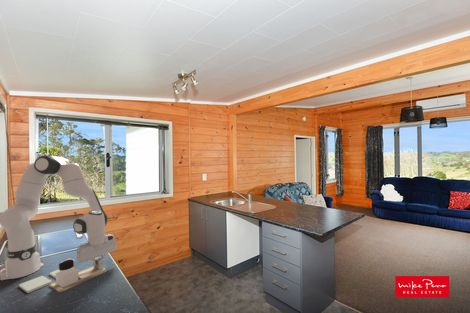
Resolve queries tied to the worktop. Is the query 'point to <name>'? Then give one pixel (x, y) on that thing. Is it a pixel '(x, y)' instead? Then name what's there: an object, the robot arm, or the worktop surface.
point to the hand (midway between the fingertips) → (98, 263)
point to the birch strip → (83, 275)
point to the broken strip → (39, 282)
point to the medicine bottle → (66, 273)
